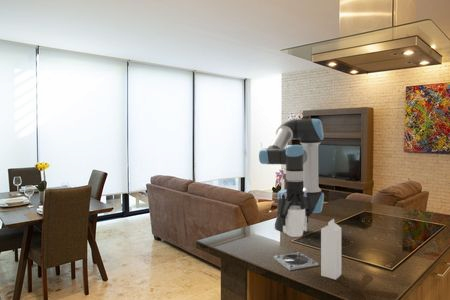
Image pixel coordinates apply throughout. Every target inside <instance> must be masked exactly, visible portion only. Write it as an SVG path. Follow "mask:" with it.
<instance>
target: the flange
mask: <svg viewBox="0 0 450 300" xmlns="http://www.w3.org/2000/svg"><path fill="white" fill-rule="evenodd" d="M273 259H274V260H276V262H277V263H279V264H280V265H281V266H283V267H285V268H286V269H287V270H288V271H295V270H299V269H305V268H310V267H316V266H319V262H317V261H315V260H314V259H312V258H311V257H309V256H307V255H306V254H304V253H302V252H301V251H297V252H291V253H285V254H277V255H273Z"/></svg>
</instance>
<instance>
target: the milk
mask: <svg viewBox="0 0 450 300" xmlns="http://www.w3.org/2000/svg"><path fill="white" fill-rule="evenodd" d="M327 223H328V224H327V225H326V226H324V227H321V228H320V271H321V272H320V276H321V277H324V278H329V279H332V280H334V281H335V280H337V279H339V277H341V276H342V227H341V226H340V225H339V224H337V223H336V222H335V218H332V219H331V220H330V221H329V220H328V222H327Z"/></svg>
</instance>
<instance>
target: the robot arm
mask: <svg viewBox="0 0 450 300" xmlns="http://www.w3.org/2000/svg"><path fill="white" fill-rule="evenodd" d="M324 137H325V135H324V128H323V123H322V120H321V119H319V118H303V119H301V118H299V119H297V118H295V119H294V118H293V119H290V120H287V121H285V122H283V123H282V124H280V125H279V127H278V128H277V129H276V132H275V136H274V137H273V139H272V140H271V142H270V144H269V146H268V147H264V148H261V149H259V153H258V160H259V162H260V164H261V165H285V179H286V181H285V189H281V190H279V191H278V192H277V198H276V200H277V206H276V207H277V211H276V212H277V213H276V219H275V222H274V228H275V230H276V231H279V232H281V231H282V233H284V234H288V219H287V218H286V216H287V214H288V209H290V206H300V207H301V210H302V209H305V214H306V215H305V222H304V229H303V232H307V231H308V227H307V226H308V223H309V217H310V216H311V215H312V214H320V213H322V210H323V207H324V198H325V194H324V192H322V189H321V188H320V187H319V145H320V144H321V143H322V141H323V140H324ZM292 140H296V141H297V140H299V144H288V143H289V142H290V141H292Z"/></svg>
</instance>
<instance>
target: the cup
mask: <svg viewBox="0 0 450 300" xmlns="http://www.w3.org/2000/svg"><path fill="white" fill-rule="evenodd" d="M305 215H306V214H305V209H302V210H301V207H300V206H290V209H288V214H287V216H286V218H287V219H288V234H287V236H289V237H292V238H293V237H294V238H300V237H302V236H303V235H304V230H303V229H304V222H305Z"/></svg>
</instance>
